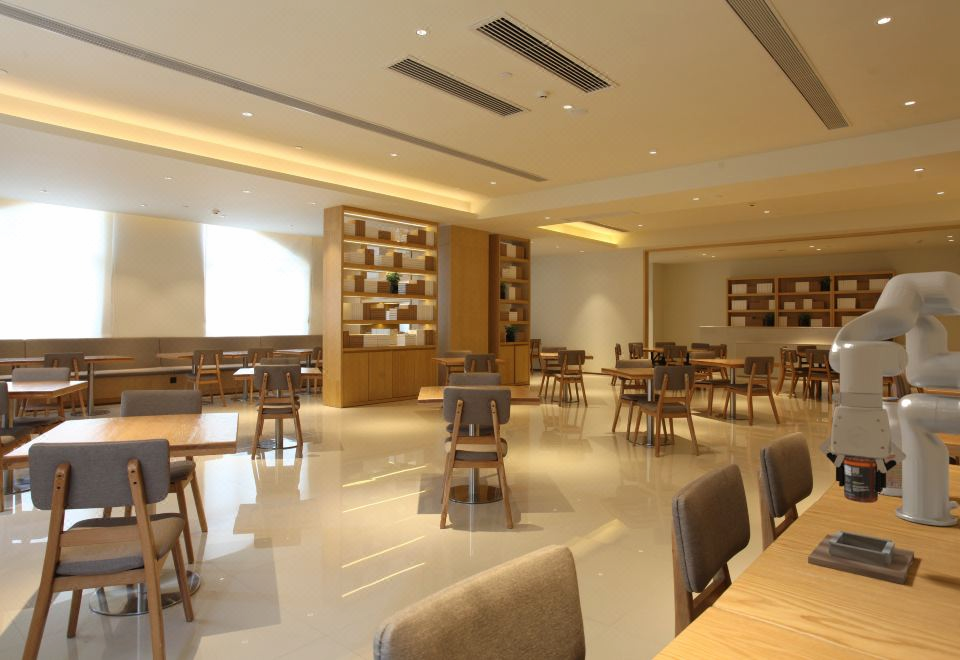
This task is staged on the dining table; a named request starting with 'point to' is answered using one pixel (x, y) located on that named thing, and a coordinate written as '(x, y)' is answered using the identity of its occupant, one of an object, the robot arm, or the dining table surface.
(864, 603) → the dining table surface
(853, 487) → the supplement bottle
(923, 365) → the robot arm
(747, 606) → the dining table surface
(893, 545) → the bottle holder
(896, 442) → the fruit juice
